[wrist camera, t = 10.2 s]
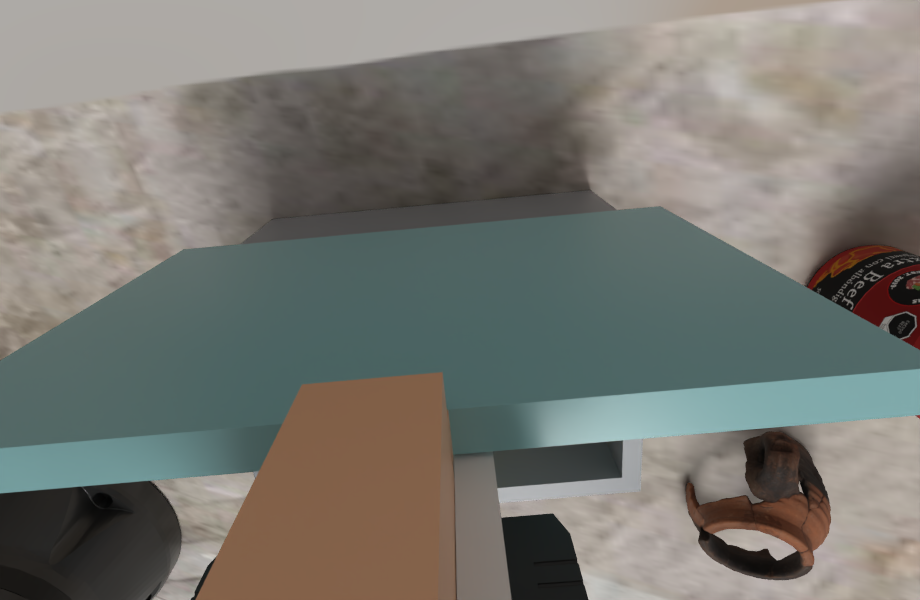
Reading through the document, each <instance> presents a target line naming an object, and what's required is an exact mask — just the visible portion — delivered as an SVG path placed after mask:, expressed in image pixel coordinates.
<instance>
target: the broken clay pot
mask: <svg viewBox="0 0 920 600" xmlns="http://www.w3.org/2000/svg"><path fill="white" fill-rule="evenodd" d="M743 444H744V446H745V447H744V450H745V454H746V458H747V462H746V473H745V478H746V481H747V483H748V485H749V487H750V490H751V492H752V493H753V495H754V496H756V497H757V498H759V499H762V500H764V501H762V502H760V503H755V504H752V503H751V501H750V500H749V498H748V496H746V495H743V496H739V497H734V498H725V499H721V500H719V501H716V502H710V503H706V504H703V505H701V506H700V505H699V503H698V502H697V499H696V496H695V489H694V486H693V484H692V483H688V484H687V487H686V502H687V507H688V510H689V511H688V513H689V515H690V517H691V518H692V520H693V523H694V524H695V526H696V528H697V529H698V531H699V532H700V535H699V539H698V542H699V544H700V546H701V548H702V549H703V550H704V551H705V552H706V554H707V555H709V556H710V557H711V558H712V559H713V560H715V561H717V562H718V563H720V564H723V565H724V566H726V567H728V568H730V569H732V570H734V571H737V572H740V573H742V574H745V575H749V576H753V577H756V578H761V579H769V580H771V579H773V580H789V579H795V578H798V577H801V576H803V575H805V574H807V573H808V572H809V571H810V570H811V569H812V567H813V566H812V565H813V564H814V556H813V551H814V550H815V549H817V548H818V547H819V546H820V545H821V544H822V543H823V542H824V540H825V538H826V537H827V535H828V533H829V526H830V523H831V516H830V510H831V509H830V505H829V498H828V494H827V491H826V490H825V486H824V484H823V482H822V478H821V476H820V475H819V473H818V471H817V469H816V467H815V466H814V464H813V461H812V458H811V456H810V454H809V453H808V451H807V450H806V449H805V448H804V447H803V446H802V445H801V444H799V443H798V442H797V441H795V440H793V439H792V438H791V437H789V436H787V435H786V434H784V433H782V432H772V431H769V432H766V433H764V434H762V435H761V436H757V437H753V438H750V439H748V440H746V441H744V443H743ZM799 481H800V485H801V487H802V491H803V493H804V494H803V493H801V492H799V487H798V484H799ZM725 529H746V530H758V531H760V532H763V533H766V534H770V535H772V536H774V537H777V538H779V539H781V540H783V541H785V542H787V543H788V544H790V545H791V546H793V547H794V548H795V549H796V550H797V551H796V552H795V553H792V554H791V555H788V556H787V557H785V558H783V559H782V560H778V561H777V560H776V559H775V558H773V557H772V556H771V555H770V553H769V550H768V549H763V550H761V551H757V552H756V551H747V550H745V549H742V548H739V547H737V546H733V545H727V544H726V543H725V542H724V541H723V540H722V539H720V538H719V537H717V536H715V535H714V533H716V532H718V531H722V530H725Z"/></svg>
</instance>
